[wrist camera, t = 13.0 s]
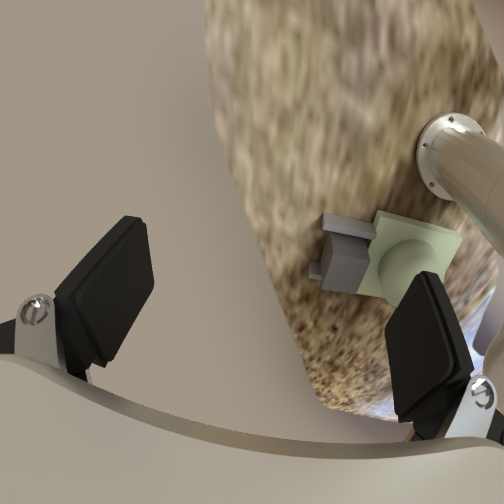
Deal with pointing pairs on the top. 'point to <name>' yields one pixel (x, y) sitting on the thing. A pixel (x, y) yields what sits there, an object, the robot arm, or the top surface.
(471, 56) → the top surface
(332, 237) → the grey rectangular block
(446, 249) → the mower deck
